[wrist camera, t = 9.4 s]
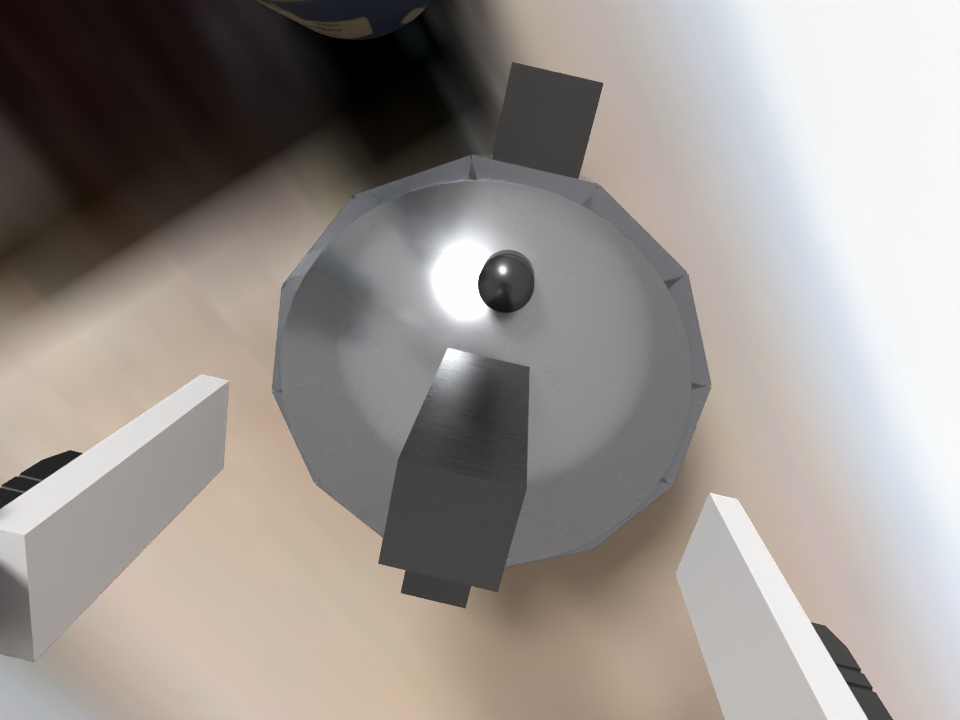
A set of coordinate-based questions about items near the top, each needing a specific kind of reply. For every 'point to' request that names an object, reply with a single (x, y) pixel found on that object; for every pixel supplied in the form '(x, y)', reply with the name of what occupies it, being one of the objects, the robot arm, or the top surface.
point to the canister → (350, 15)
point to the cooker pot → (552, 167)
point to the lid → (485, 376)
